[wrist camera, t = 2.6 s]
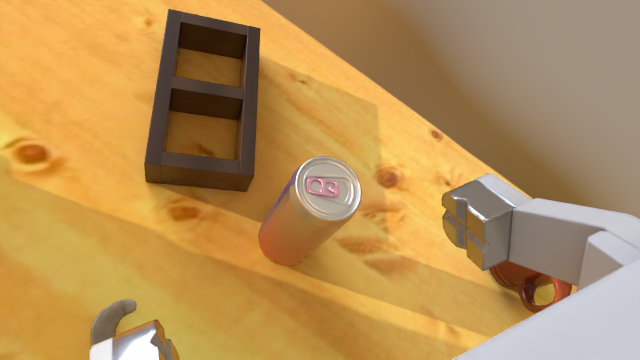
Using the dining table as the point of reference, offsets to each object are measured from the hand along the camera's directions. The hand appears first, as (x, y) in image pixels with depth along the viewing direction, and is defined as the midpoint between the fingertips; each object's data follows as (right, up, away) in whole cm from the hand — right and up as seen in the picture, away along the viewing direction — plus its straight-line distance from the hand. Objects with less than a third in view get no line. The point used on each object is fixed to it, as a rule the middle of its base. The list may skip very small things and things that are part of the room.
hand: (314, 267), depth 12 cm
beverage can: (-4, -4, +36) cm, 37 cm away
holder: (-13, +10, +40) cm, 43 cm away
